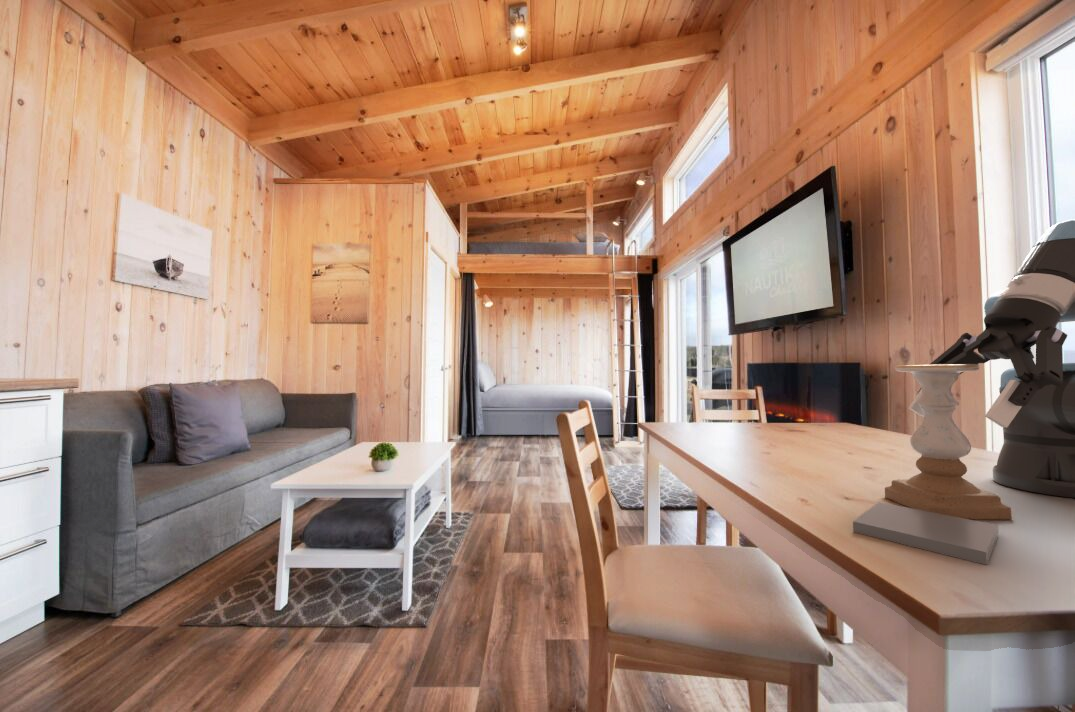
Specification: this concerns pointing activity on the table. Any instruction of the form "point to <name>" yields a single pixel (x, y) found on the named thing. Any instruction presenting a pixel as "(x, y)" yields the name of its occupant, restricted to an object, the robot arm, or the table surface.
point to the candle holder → (942, 454)
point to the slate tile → (929, 531)
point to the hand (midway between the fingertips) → (951, 417)
